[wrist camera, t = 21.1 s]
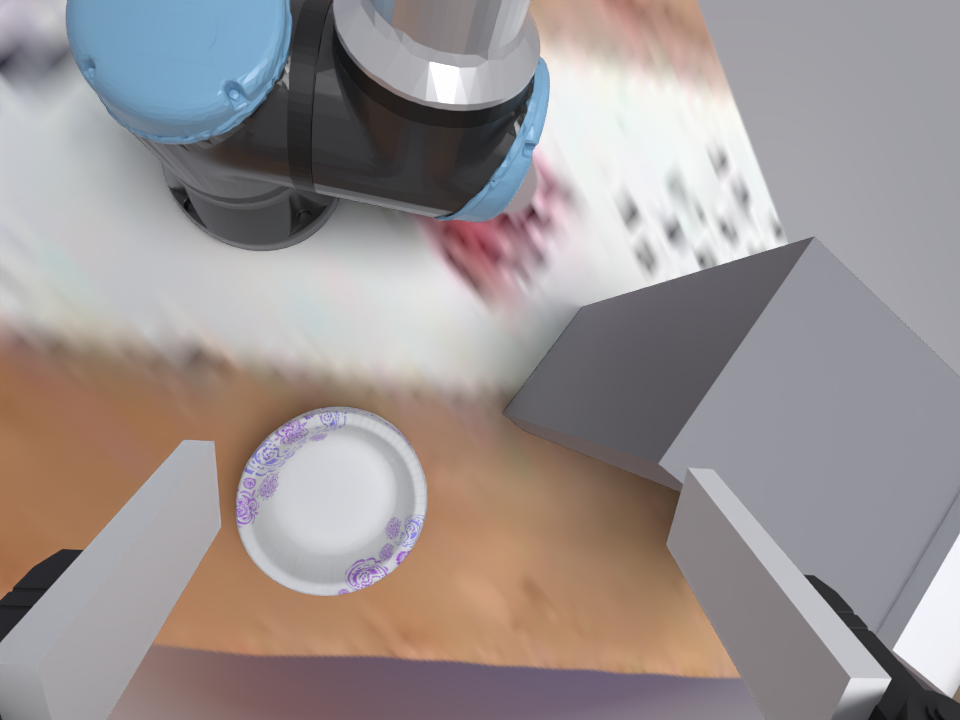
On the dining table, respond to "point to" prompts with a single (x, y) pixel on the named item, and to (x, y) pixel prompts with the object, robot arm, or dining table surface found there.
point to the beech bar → (957, 695)
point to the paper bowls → (331, 501)
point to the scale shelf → (784, 427)
